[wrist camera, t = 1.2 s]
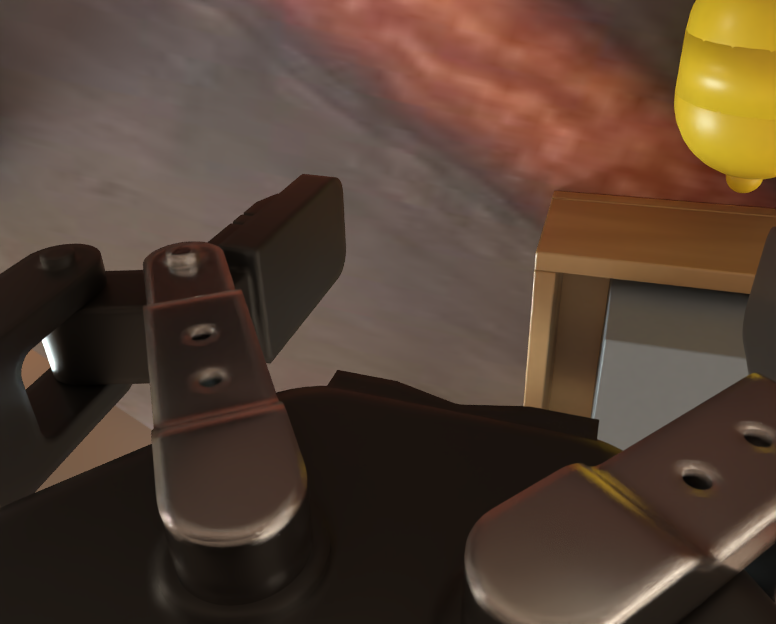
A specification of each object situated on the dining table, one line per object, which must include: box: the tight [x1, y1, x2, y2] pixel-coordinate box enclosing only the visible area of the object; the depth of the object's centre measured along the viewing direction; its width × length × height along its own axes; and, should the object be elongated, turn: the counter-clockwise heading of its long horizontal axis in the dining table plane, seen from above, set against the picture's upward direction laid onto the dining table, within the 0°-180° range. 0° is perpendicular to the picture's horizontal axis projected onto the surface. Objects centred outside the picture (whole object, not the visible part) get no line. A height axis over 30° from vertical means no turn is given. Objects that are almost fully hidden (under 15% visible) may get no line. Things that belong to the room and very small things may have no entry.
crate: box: [524, 191, 776, 418], centre depth 31 cm, size 18×14×6 cm
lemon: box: [674, 0, 776, 193], centre depth 23 cm, size 9×6×6 cm, turn 2°
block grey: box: [591, 278, 750, 450], centre depth 28 cm, size 8×8×8 cm
